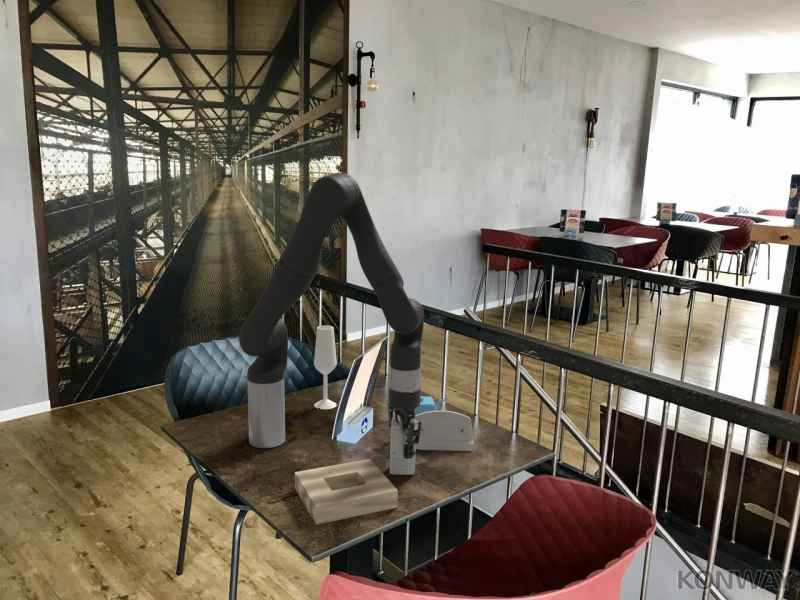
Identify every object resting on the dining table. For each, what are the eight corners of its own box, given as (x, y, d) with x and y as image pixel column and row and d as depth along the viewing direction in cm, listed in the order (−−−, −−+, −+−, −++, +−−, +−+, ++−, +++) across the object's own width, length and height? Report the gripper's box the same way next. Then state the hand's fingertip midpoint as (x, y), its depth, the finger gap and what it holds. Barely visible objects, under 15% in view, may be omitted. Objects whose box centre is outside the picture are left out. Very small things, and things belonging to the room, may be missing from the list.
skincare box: (389, 475, 154) (390, 427, 152) (389, 466, 159) (390, 419, 156) (415, 475, 155) (417, 427, 152) (414, 466, 159) (416, 419, 156)
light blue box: (442, 417, 190) (443, 392, 188) (446, 425, 184) (447, 400, 182) (401, 418, 189) (402, 393, 187) (403, 426, 183) (404, 401, 181)
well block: (295, 488, 147) (294, 472, 146) (369, 474, 154) (369, 458, 153) (316, 524, 133) (316, 506, 132) (397, 507, 140) (397, 490, 139)
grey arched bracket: (409, 449, 168) (410, 409, 170) (409, 447, 173) (410, 409, 174) (474, 451, 168) (475, 411, 169) (472, 449, 173) (473, 411, 174)
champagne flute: (341, 405, 197) (341, 327, 192) (324, 411, 192) (323, 331, 187) (326, 399, 201) (326, 323, 196) (309, 404, 197) (309, 327, 192)
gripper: (377, 377, 157) (376, 443, 161) (402, 397, 144) (401, 468, 148) (406, 373, 160) (404, 438, 164) (433, 393, 147) (430, 462, 151)
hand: (403, 452), depth 156 cm, fingers closed on skincare box, 5 cm apart
